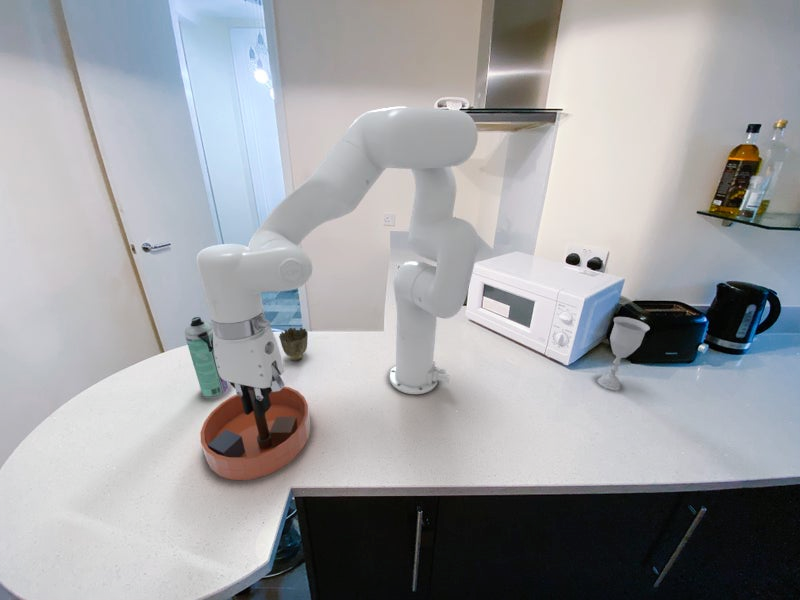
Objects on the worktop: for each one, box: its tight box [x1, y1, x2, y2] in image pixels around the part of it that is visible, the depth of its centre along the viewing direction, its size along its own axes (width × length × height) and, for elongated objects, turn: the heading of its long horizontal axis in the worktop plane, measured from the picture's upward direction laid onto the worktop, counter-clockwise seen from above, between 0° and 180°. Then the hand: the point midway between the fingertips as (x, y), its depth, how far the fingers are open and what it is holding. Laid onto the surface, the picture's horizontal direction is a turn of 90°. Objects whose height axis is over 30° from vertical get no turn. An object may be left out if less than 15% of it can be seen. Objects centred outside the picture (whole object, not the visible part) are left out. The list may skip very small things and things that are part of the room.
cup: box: [278, 327, 308, 362], centre depth 88 cm, size 8×7×8 cm
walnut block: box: [270, 417, 298, 448], centre depth 62 cm, size 4×4×4 cm
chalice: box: [597, 316, 651, 391], centre depth 79 cm, size 7×7×18 cm
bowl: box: [200, 386, 311, 481], centre depth 63 cm, size 19×19×6 cm
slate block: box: [207, 430, 245, 458], centre depth 58 cm, size 4×4×4 cm
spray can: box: [184, 316, 229, 399], centre depth 72 cm, size 6×6×20 cm
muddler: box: [248, 386, 272, 448], centre depth 59 cm, size 3×3×14 cm
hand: (258, 410), depth 58 cm, fingers closed on muddler
